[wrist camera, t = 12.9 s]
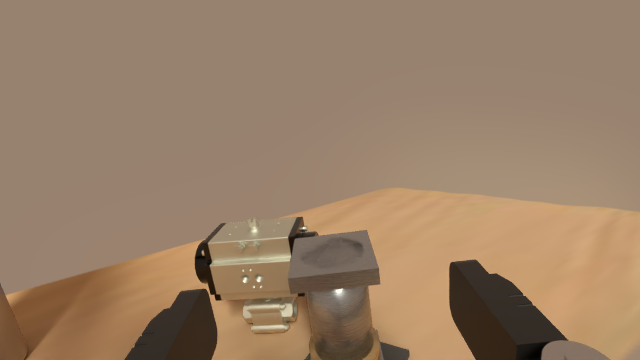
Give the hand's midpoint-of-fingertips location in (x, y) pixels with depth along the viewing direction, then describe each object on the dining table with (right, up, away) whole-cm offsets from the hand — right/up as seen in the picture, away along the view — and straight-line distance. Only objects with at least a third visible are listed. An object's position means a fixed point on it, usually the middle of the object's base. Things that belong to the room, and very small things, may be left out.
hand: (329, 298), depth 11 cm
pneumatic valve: (-5, -12, +24) cm, 27 cm away
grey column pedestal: (+2, -12, +17) cm, 21 cm away
